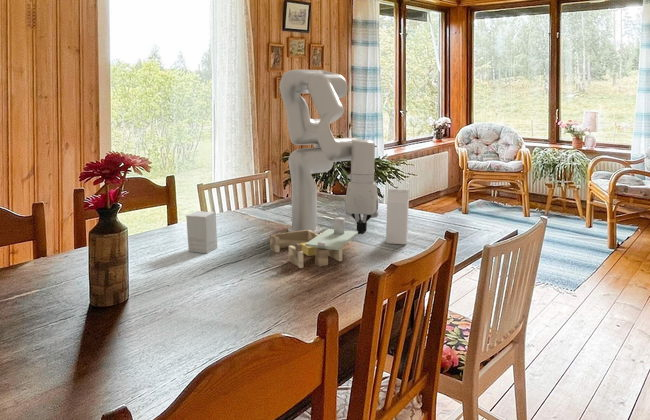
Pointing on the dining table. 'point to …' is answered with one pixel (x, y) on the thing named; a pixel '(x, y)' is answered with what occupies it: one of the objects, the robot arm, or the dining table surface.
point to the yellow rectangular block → (308, 250)
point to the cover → (333, 236)
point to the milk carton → (397, 216)
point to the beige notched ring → (296, 252)
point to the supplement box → (201, 231)
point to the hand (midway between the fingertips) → (361, 233)
